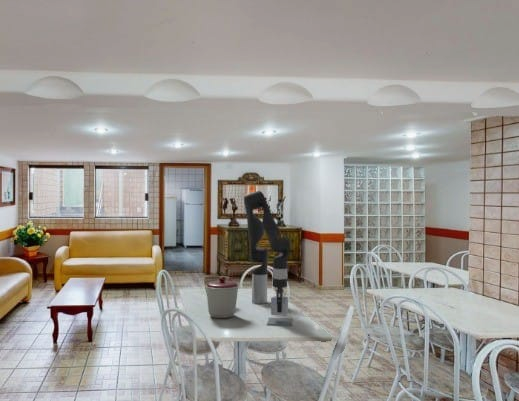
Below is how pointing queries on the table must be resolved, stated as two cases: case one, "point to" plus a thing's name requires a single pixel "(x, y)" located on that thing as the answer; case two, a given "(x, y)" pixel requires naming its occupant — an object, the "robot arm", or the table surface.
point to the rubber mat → (280, 321)
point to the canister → (222, 298)
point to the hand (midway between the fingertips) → (279, 310)
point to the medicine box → (284, 306)
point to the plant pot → (212, 279)
